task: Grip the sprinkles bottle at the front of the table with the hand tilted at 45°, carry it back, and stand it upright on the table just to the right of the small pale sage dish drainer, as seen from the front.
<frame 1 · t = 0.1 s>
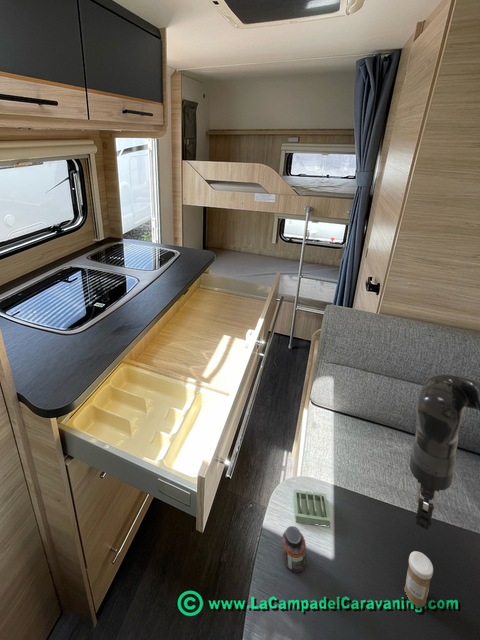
hand: (424, 508, 75), 24 cm above the table, tool pointing down, fingers open, 8 cm apart
drainer: (311, 511, 99), on the table
sprinkles bottle: (414, 595, 79), on the table
supplement bottle: (294, 560, 88), on the table
drainer rack: (311, 505, 98), in the drainer, point 3 cm above the table
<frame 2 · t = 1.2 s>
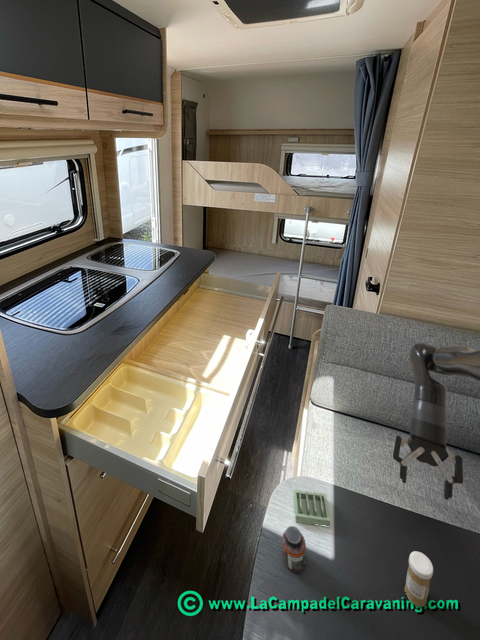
hand: (424, 490, 80), 22 cm above the table, tool tilted 45°, fingers open, 8 cm apart
nothing on the table moved.
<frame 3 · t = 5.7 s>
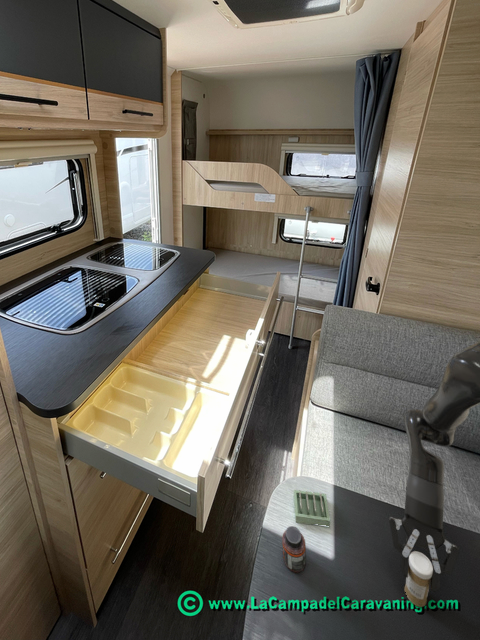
hand: (419, 582, 74), 9 cm above the table, tool tilted 45°, fingers closed on sprinkles bottle, 4 cm apart
sprinkles bottle: (415, 595, 79), on the table, touching gripper
everything else where it was.
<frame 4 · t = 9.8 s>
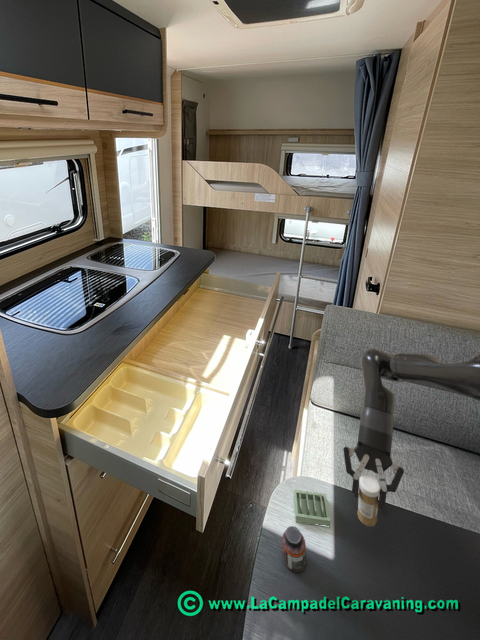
hand: (367, 501, 80), 22 cm above the table, tool tilted 45°, fingers closed on sprinkles bottle, 4 cm apart
sprinkles bottle: (366, 517, 84), point 13 cm above the table, touching gripper
everything else where it was.
when the fingers open (9 cm above the table, at t = 14.3 s): sprinkles bottle stays where it is, on the table.
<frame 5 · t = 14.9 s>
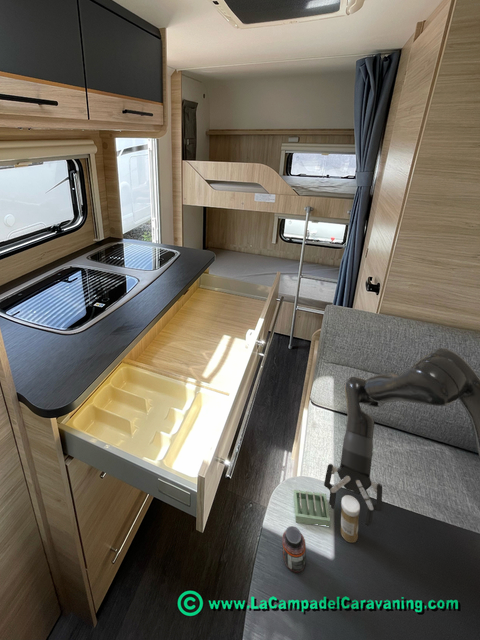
hand: (349, 516, 87), 10 cm above the table, tool tilted 45°, fingers open, 8 cm apart
sprinkles bottle: (348, 534, 92), on the table
everything else where it was.
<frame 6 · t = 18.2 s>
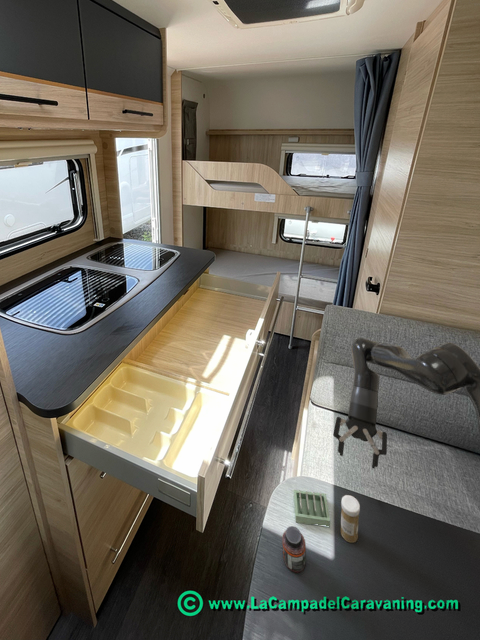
hand: (356, 461, 95), 16 cm above the table, tool tilted 45°, fingers open, 8 cm apart
nothing on the table moved.
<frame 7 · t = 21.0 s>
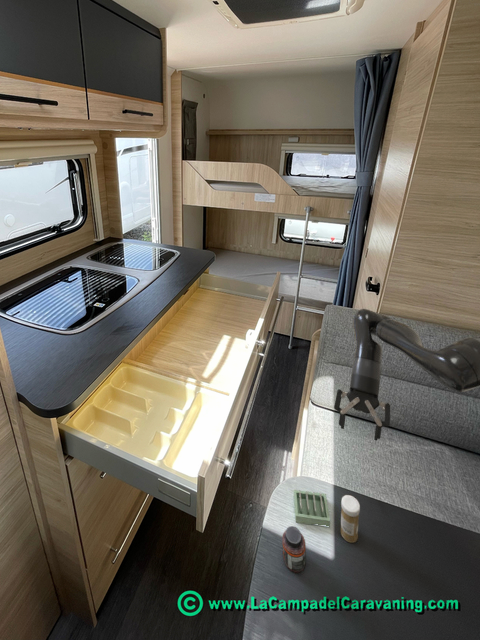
hand: (358, 434, 92), 27 cm above the table, tool tilted 45°, fingers open, 8 cm apart
nothing on the table moved.
at the end: sprinkles bottle 0.2 cm from the target spot on the table beside the drainer, on the table; sprinkles bottle tilted 0°; the gripper is holding nothing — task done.
